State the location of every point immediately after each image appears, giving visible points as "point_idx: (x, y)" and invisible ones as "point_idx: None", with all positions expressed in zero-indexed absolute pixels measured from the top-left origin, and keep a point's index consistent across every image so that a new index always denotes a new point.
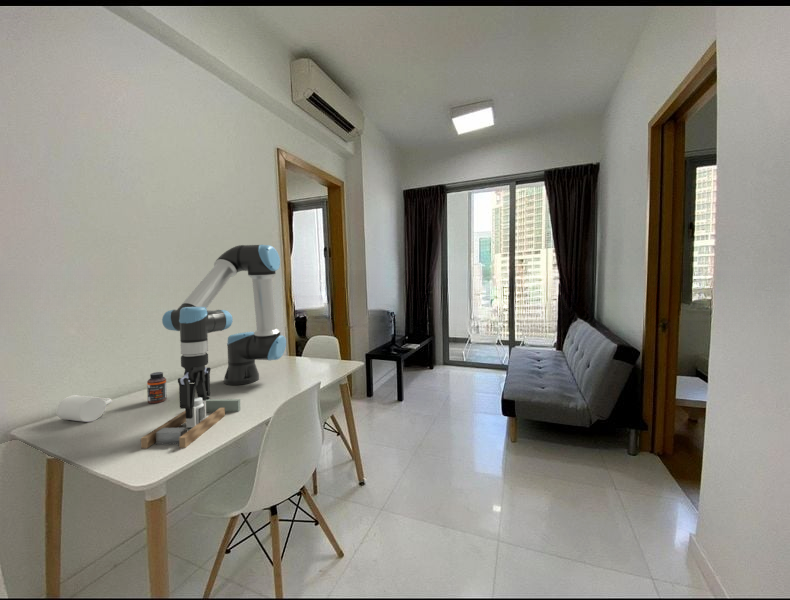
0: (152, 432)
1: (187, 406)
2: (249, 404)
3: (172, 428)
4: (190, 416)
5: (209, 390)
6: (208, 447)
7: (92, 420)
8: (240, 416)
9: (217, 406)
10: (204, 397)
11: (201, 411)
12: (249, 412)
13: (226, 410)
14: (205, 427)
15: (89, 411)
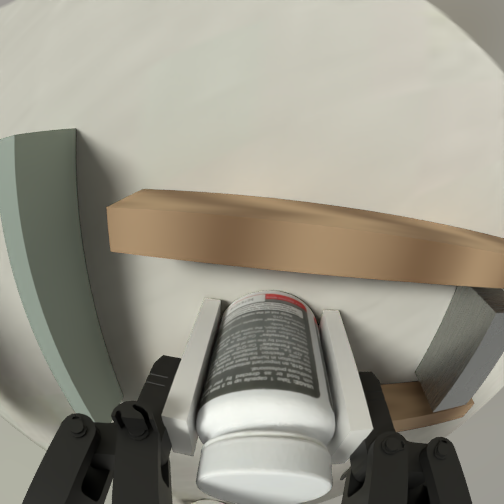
0: (436, 419)
1: (453, 453)
2: (3, 127)
3: (465, 376)
4: (376, 383)
5: (57, 455)
6: None
7: (216, 501)
8: (160, 59)
9: (68, 291)
10: (158, 450)
11: (294, 360)
12: (100, 39)
13: (74, 218)
14: (419, 227)
15: None
